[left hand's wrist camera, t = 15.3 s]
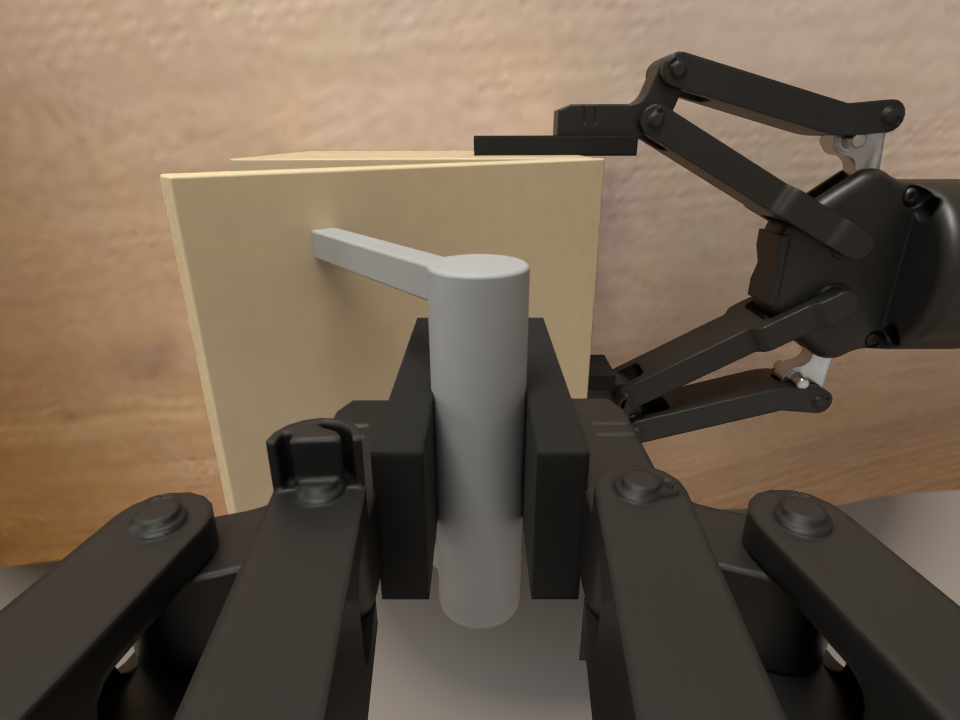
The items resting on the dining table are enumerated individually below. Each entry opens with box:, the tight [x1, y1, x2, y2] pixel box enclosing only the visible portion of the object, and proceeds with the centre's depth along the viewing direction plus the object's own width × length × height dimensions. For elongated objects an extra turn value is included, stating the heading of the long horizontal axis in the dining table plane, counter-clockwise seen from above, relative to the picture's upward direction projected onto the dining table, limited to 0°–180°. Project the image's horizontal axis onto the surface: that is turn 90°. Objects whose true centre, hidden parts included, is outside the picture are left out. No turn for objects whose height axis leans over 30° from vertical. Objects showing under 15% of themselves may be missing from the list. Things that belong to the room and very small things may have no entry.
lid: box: [160, 158, 605, 629], centre depth 15 cm, size 14×10×8 cm
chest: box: [230, 151, 590, 171], centre depth 27 cm, size 13×10×10 cm
